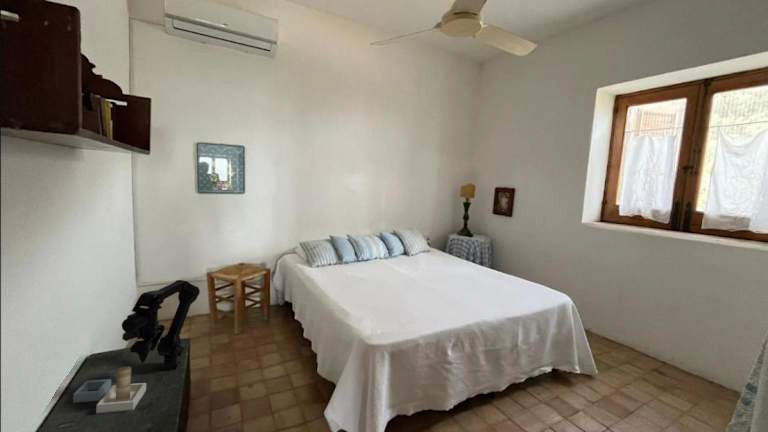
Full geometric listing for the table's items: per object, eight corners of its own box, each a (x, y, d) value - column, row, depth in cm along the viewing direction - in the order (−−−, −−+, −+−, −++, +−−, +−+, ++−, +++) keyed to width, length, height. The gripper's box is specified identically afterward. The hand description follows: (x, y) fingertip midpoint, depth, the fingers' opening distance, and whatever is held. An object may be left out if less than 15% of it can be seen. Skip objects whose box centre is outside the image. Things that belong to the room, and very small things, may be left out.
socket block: (86, 388, 129) (86, 380, 128) (111, 386, 131) (111, 379, 131) (73, 402, 121) (73, 394, 120) (99, 400, 123) (99, 392, 123)
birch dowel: (115, 399, 124) (116, 368, 123) (129, 394, 127) (130, 365, 126) (116, 405, 121) (117, 374, 120) (130, 400, 124) (132, 370, 123)
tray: (112, 393, 128) (112, 385, 127) (146, 390, 131) (146, 382, 131) (96, 413, 117) (96, 405, 116) (133, 410, 120) (133, 401, 120)
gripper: (136, 312, 138) (135, 345, 140) (114, 333, 121) (113, 370, 122) (165, 312, 142) (164, 344, 143) (148, 332, 124) (146, 368, 126)
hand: (147, 356), depth 134 cm, fingers open, 9 cm apart
